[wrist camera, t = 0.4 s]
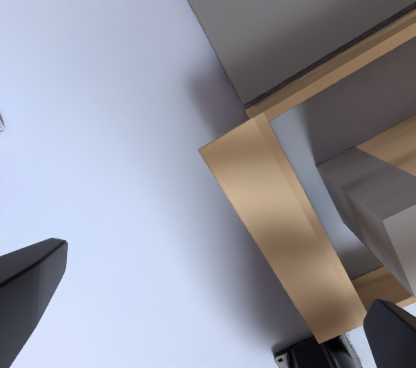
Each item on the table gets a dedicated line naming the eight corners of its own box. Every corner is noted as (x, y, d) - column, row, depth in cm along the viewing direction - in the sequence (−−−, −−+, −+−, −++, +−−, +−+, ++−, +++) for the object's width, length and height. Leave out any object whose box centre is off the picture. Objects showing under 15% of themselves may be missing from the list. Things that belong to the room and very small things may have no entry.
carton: (565, 188, 22) (629, 209, 19) (303, 308, 25) (319, 343, 22) (525, -59, 16) (606, -91, 13) (198, 137, 20) (198, 150, 17)
